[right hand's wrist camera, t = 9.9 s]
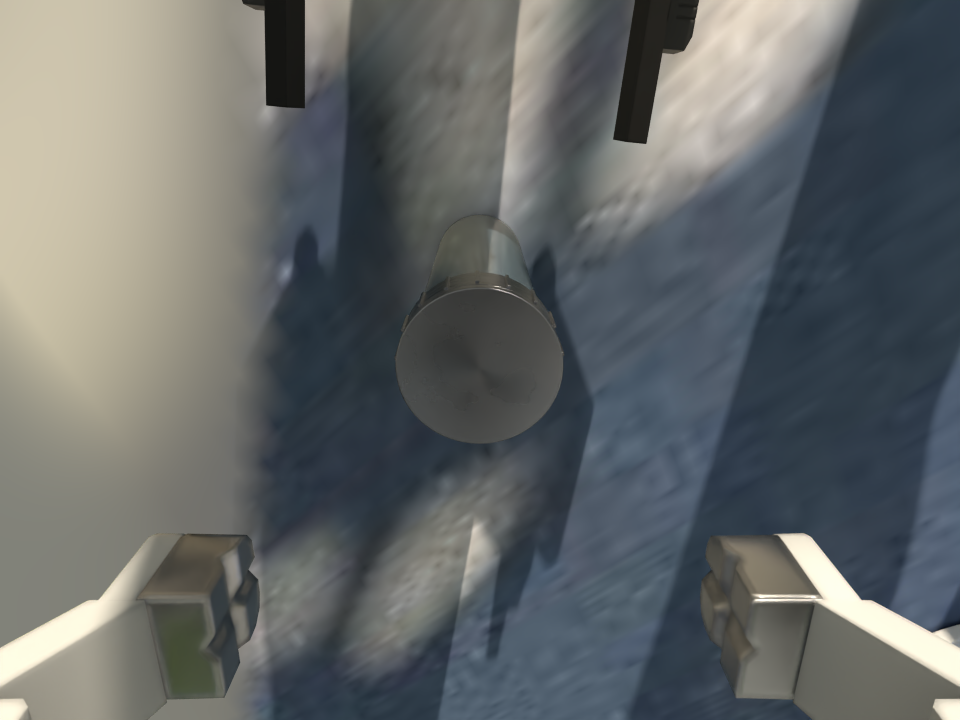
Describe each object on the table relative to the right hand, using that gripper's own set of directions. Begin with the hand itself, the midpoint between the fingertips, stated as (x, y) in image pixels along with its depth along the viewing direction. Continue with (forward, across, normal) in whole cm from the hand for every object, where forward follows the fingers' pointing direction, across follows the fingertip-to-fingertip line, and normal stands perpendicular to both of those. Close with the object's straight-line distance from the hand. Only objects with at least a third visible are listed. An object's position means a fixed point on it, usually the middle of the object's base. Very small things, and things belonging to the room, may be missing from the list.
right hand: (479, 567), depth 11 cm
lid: (+9, 0, 0) cm, 9 cm away
